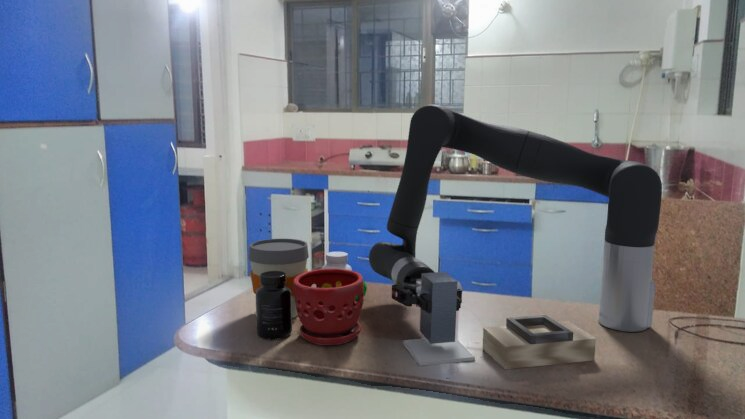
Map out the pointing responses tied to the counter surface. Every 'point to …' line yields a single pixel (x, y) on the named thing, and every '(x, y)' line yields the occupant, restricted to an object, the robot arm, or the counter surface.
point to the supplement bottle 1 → (273, 306)
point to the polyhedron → (364, 290)
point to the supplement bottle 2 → (336, 264)
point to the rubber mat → (437, 352)
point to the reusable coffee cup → (278, 261)
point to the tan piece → (537, 342)
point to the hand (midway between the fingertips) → (443, 306)
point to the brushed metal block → (439, 307)
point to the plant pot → (329, 305)
